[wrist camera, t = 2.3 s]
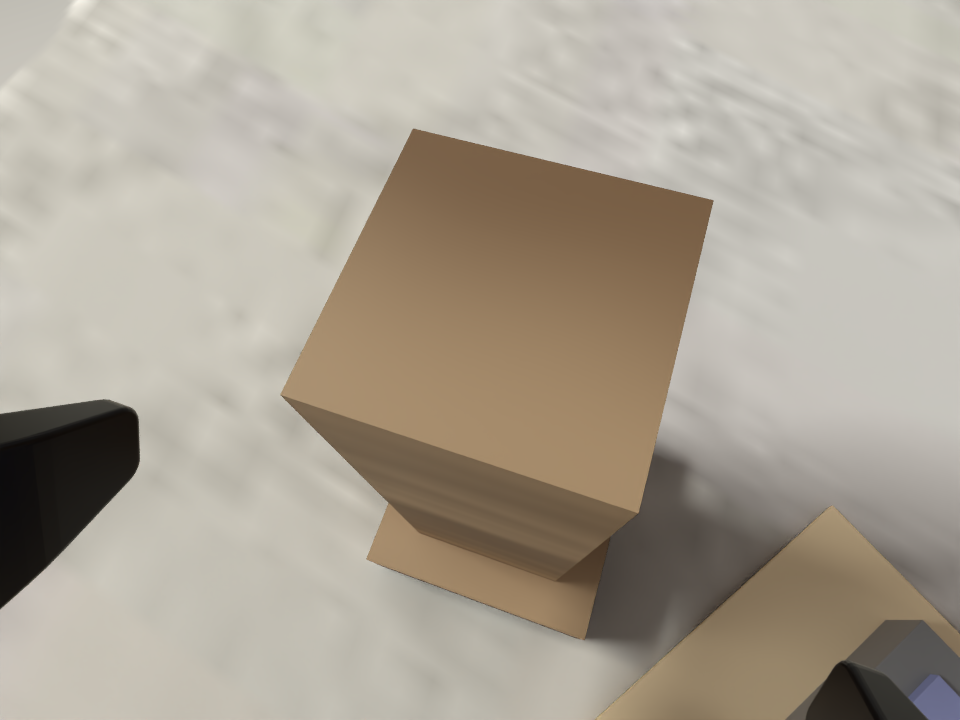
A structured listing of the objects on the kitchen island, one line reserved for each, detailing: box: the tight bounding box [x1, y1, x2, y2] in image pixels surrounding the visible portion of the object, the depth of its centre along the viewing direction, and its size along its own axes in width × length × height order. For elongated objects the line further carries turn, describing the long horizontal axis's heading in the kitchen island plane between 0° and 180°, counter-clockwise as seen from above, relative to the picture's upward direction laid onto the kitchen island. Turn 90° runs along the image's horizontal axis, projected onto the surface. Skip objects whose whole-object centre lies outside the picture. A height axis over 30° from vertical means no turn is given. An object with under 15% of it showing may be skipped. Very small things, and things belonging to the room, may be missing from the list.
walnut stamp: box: [280, 129, 714, 640], centre depth 12 cm, size 6×6×12 cm
